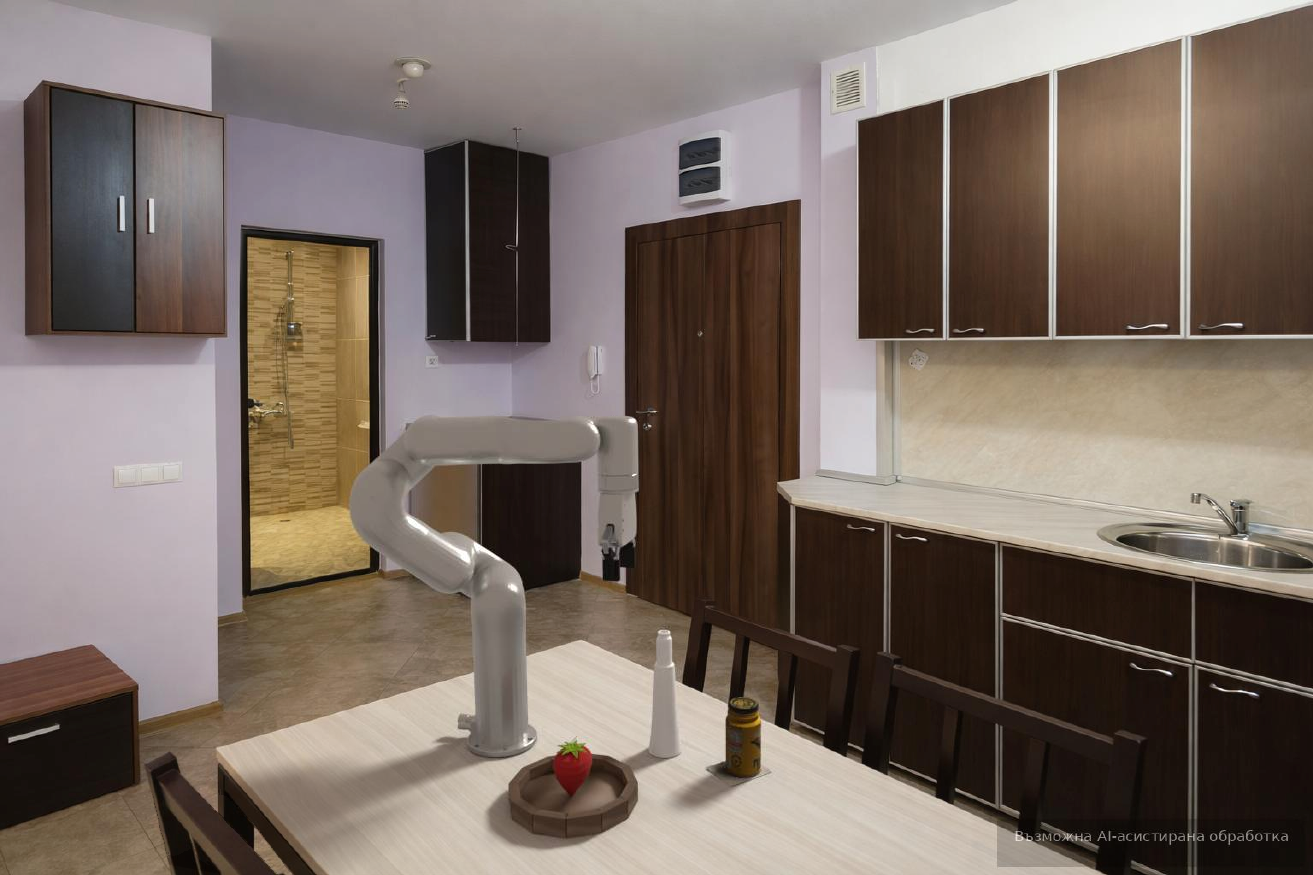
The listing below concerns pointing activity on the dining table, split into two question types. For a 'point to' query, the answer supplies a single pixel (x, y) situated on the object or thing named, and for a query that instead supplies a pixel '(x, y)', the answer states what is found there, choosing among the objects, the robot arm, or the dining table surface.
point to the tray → (573, 798)
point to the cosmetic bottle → (664, 702)
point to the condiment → (741, 743)
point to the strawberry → (572, 765)
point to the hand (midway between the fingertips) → (619, 573)
